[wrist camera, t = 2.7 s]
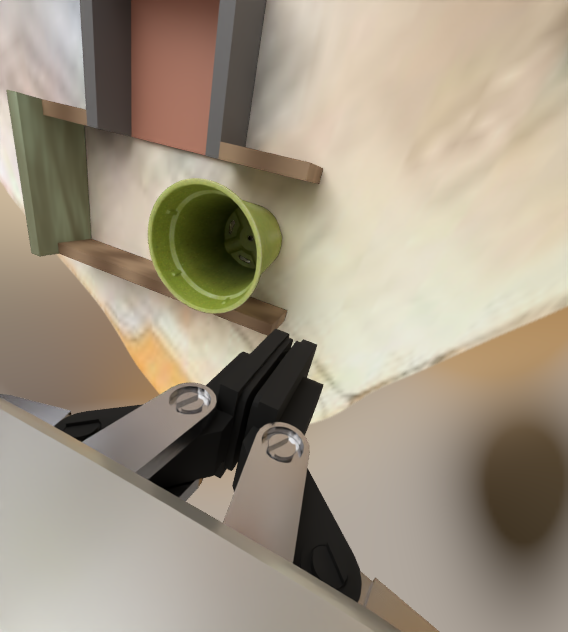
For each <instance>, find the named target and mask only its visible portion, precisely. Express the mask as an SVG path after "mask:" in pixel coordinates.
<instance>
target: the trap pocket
mask: <svg viewBox="0 0 568 632" xmlns="http://www.w3.org/2000/svg"><path fill="white" fill-rule="evenodd" d="M265 6H266V0H80V13H81V30H82V47H83V64H84V81H85V98H86V115H87V126H90V127H94V128H98V129H102V130H106V131H110V132H114V133H118V134H122V135H127V136H131V137H135V138H139V139H143V140H147V141H151V142H155V143H159V144H163V145H166V146H170V147H174V148H178V149H182V150H186V151H190V152H194V153H198V154H202V155H205V156H209V157H213V158H217V159H218V158H219V149H220V142H225V143H229V144H233V145H237V146H242V147H245V144H246V137H247V130H248V123H249V116H250V109H251V102H252V95H253V89H254V82H255V75H256V68H257V61H258V54H259V47H260V40H261V33H262V26H263V19H264V12H265Z"/></svg>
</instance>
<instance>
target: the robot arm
mask: <svg viewBox="0 0 568 632" xmlns="http://www.w3.org/2000/svg"><path fill="white" fill-rule="evenodd" d="M292 342H293V339H291V338H289V334H288V333H285V332H283V331H280V330H277V329H275V330H273V331H272V332H271V333H270V334H269V335H268V337H267V338H266V339H265V340H264V341H263V342H262V343H261V344H260V345H259V346H258V347H257V348H256V349H255V350H254V351H253V352H252V353H251V354H248V353H246V352H242V353H240V354H239V355H238V356H237V357H236V358H235V359H234V360H233V361H232V362H230V363H229V364H228V365H227V366H226V367H225V368H224V369H223V370H222V371H221V372H220V373H219V374H218V375H217V376H216V377H214V378H213V379H212V380H211V381H210V382H209V383H208V384H207V385H206V386H205V385H202V384H198V383H183V384H178V385H176V386H174V387H172V388H170V389H168V390H167V391H165V392H164V393H162V394H160V395H159V396H157V397H155V398H154V399H152V400H150V401H149V402H147V403H145V404H143V405H135V406H127V407H119V408H110V409H102V410H94V411H86V412H81V413H77V414H74V415H71V411H70V410H66V409H62V408H58V407H54V406H50V405H46V404H42V403H39V402H35V401H31V400H27V399H23V398H19V397H15V396H12V395H5V394H0V632H439V631H438V630H437V629H436V628H435V627H433V626H432V625H431V624H430V623H429V622H428V621H426V620H425V619H424V618H423V617H422V616H420V615H419V614H418V613H417V612H416V611H414V610H413V609H412V608H411V607H410V606H409V605H407V604H406V603H405V602H404V601H403V600H401V599H400V598H399V597H398V596H397V595H396V594H394V593H393V592H392V591H391V590H390V589H388V588H387V587H386V586H385V585H383V584H382V583H381V582H380V581H379V580H378V579H377V578H375V579H374V580H373V582H372V581H371V580H370V579H369V578H368V577H367V576H365V575H364V574H363V573H362V572H361V571H360V568H359V566H358V564H357V561H356V559H355V556H354V554H353V552H352V550H351V549H350V547H349V545H348V543H347V541H346V539H345V538H344V536H343V534H342V532H341V530H340V528H339V526H338V524H337V522H336V521H335V519H334V517H333V515H332V513H331V511H330V510H329V508H328V506H327V504H326V502H325V500H324V498H323V496H322V494H321V493H320V491H319V489H318V487H317V485H316V483H315V481H314V479H313V478H312V476H311V474H310V472H309V470H308V468H307V466H308V460H309V453H310V451H309V443H308V441H307V438H306V437H305V433H306V431H307V428H308V426H309V423H310V421H311V418H312V416H313V413H314V410H315V408H316V405H317V402H318V400H319V397H320V394H321V391H322V388H323V384H320V383H318V382H316V381H313V380H311V379H308V378H307V375H308V372H309V369H310V366H311V363H312V360H313V357H314V354H315V351H316V347H317V344H314V343H311V342H309V341H306V340H304V339H303V340H302V341H301V342H298V341H296V342H295V343H294V345H293V346H292ZM291 346H292V347H291ZM237 462H238V464H237ZM236 464H237V469H236V473H235V477H234V481H233V489H234V495H233V497H232V500H231V502H230V505H229V508H228V510H227V513H226V515H225V518H224V521H223V523H222V522H220V521H218V520H216V519H215V518H213V517H211V516H210V515H208V514H206V513H204V512H203V511H201V510H199V509H198V508H196V507H194V506H192V505H190V504H189V503H187V502H186V500H187V499H188V498H189V497H190V496H191V495H192V494H193V493H194V492H195V491H196V490H197V489H198V487H199V486H200V484H201V483H202V481H203V478H206V477H210V476H213V475H215V476H217V477H219V478H221V477H222V475H223V474H224V472H225V470H226V469H228V470H231V471H232V470H233V468H234V467H235V465H236Z"/></svg>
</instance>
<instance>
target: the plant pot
mask: <svg viewBox="0 0 568 632" xmlns="http://www.w3.org/2000/svg"><path fill="white" fill-rule="evenodd" d="M233 220H234V221H235V224H234V226H233V229H232V232H231V234H230V232H229V229H230V224H231V222H232V221H233ZM248 236H252V237H253V240H252V241H250V240H249V239H248ZM281 243H282V236H281V232H280V229H279V226H278V223H277V221H276V219H275V217H274V216H273V215H272V214H271V213H270V212H269V211H268V210H267V209H265V208H264V207H262V206H259V205H256V204H253V203H249V202H246V201H243V200H241V199H240V198H239V197H238V196H237V195H236V194H235V193H234V192H232V191H231V190H230V189H228V188H227V187H225V186H223V185H221V184H219V183H216V182H214V181H210V180H206V179H199V178H192V179H185V180H181V181H179V182H177V183H175V184H173V185H171V186H170V187H168V188H167V189H166V190H165V191H164V192H163V193H162V194H161V195H160V196H159V198H158V199H157V201H156V202H155V204H154V206H153V209H152V211H151V214H150V218H149V225H148V244H149V250H150V255H151V259H152V262H153V265H154V267H155V270H156V272H157V274H158V276H159V277H160V279H161V281H162V282H163V283H164V285H165V286H166V287H167V288H168V290H169V291H170V292H171V293H172V294H173V295H174V296H175V297H176V298H177V299H178V300H179V301H181V302H182V303H184V304H186V305H187V306H189V307H190V308H193V309H195V310H198V311H201V312H204V313H211V314H216V313H225V312H228V311H231V310H234V309H236V308H237V307H239V306H241V305H242V304H243V303H244V302H245V301H246V300H247V299H248V298H249V297H250V296H251V294H252V293H253V292H254V290H255V288H256V287H257V284H258V282H259V279H260V275H261V274H262V273H263V272H264V271H265V270H266V269H267V268H268V267H269V266H270V265H271V264H272V262H273V261H274V260H275V259H276V258H277V256H278V254H279V252H280V249H281ZM239 255H241V256H242V257H244V258H245V259H247V260H250V263H247V262H245V261H242V260H241V259H240V258H239Z"/></svg>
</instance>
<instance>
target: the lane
mask: <svg viewBox="0 0 568 632" xmlns="http://www.w3.org/2000/svg"><path fill="white" fill-rule="evenodd" d="M7 97H8V103H9V110H10V116H11V123H12V129H13V136H14V142H15V149H16V155H17V162H18V168H19V175H20V181H21V188H22V194H23V201H24V207H25V214H26V220H27V227H28V233H29V240H30V246H31V252H32V254H35V255H38V256H46V255H52V254H62V255H64V256H67V257H69V258H72V259H74V260H77V261H79V262H82V263H84V264H87V265H89V266H92V267H95V268H97V269H100V270H102V271H105V272H107V273H110V274H112V275H115V276H117V277H120V278H123V279H125V280H128V281H130V282H133V283H135V284H138V285H140V286H143V287H145V288H148V289H151V290H153V291H156V292H158V293H161V294H163V295H166V296H168V297H171V298H173V299H176V300H178V299H177V298H176V297H175V296H174V295H173V294H172V293H171V292H170V291H169V290H168V288H167V287H166V286H165V285H164V283H163V282H162V281H161V279H160V277H159V276H158V274H157V272H156V270H155V267H154V265H153V262H152V261H151V260H148V259H145V258H142V257H140V256H137V255H134V254H131V253H129V252H126V251H123V250H120V249H118V248H115V247H112V246H110V245H107V244H104V243H101V242H99V241H96V240H93V239H91V227H90V211H89V195H88V178H87V162H86V146H85V130H84V125H86V126H87V115H86V110H85V109H81V108H77V107H72V106H68V105H64V104H60V103H55V102H51V101H47V100H43V99H39V98H35V97H32V96H28V95H25V94H21V93H18V92H14V91H10V90H7ZM218 159H221V160H224V161H228V162H232V163H236V164H240V165H244V166H248V167H252V168H256V169H260V170H264V171H268V172H272V173H276V174H280V175H284V176H288V177H292V178H296V179H300V180H304V181H308V182H313V183H317V184H319V182H320V178H321V174H322V171H323V168H321V167H319V166H317V165H314V164H312V163H309V162H305V161H301V160H297V159H292V158H288V157H284V156H280V155H275V154H271V153H267V152H263V151H258V150H254V149H250V148H246V147H242V146H237V145H233V144H229V143H225V142H220V149H219V158H218ZM178 301H179V300H178ZM286 313H287V310H285V309H282V308H279V307H276V306H274V305H271V304H268V303H265V302H263V301H260V300H257V299H254V298H252V297H249V298H248V299H247V300H246V301H245V302H244V303H243V304H242V305H241V306H239V307H237V308H236V309H234V310H231V311H228V312H225V313H216V314H214V315H217V316H219V317H222V318H224V319H227V320H229V321H232V322H234V323H237V324H239V325H242V326H245V327H247V328H250V329H252V330H255V331H257V332H260V333H262V334H265V335H267V336H268V335H269V334H270V333H271V332H272V331H273V330H275V329H277V328H278V327H279V326H280V325H281V324H282V323H283V322H284V321H285V317H286Z"/></svg>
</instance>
